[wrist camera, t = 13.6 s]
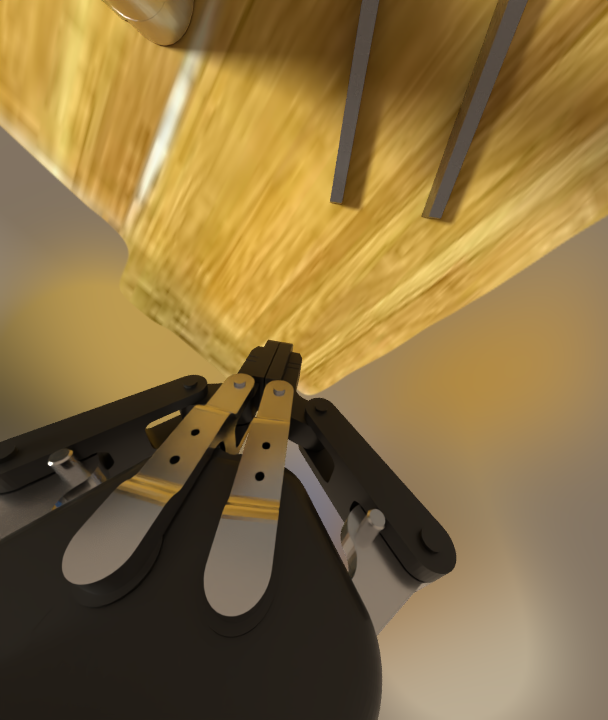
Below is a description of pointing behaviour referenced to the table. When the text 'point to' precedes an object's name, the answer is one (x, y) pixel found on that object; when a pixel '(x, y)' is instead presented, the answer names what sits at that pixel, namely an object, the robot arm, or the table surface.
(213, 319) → the table surface
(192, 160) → the table surface
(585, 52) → the table surface
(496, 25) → the grey parallel rails
